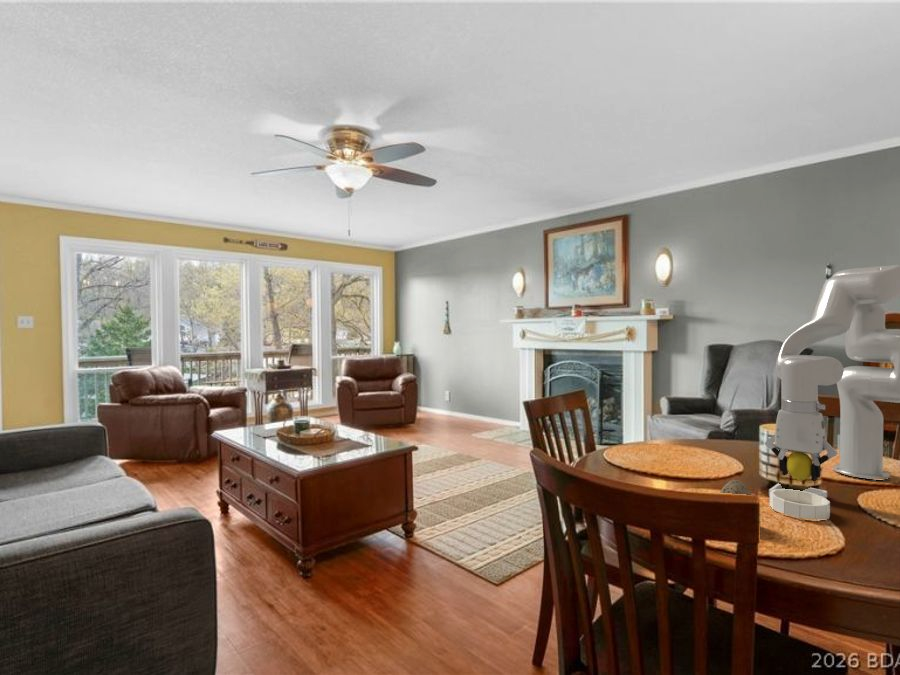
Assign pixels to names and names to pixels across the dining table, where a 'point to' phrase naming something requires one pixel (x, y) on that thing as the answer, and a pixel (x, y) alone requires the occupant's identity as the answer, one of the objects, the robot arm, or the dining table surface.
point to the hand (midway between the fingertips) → (799, 476)
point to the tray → (811, 490)
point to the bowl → (800, 504)
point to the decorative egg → (735, 488)
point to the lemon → (799, 465)
